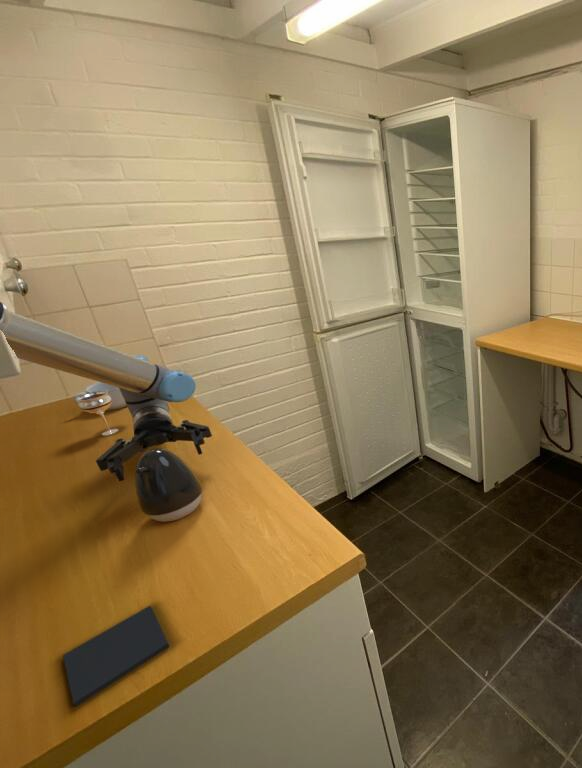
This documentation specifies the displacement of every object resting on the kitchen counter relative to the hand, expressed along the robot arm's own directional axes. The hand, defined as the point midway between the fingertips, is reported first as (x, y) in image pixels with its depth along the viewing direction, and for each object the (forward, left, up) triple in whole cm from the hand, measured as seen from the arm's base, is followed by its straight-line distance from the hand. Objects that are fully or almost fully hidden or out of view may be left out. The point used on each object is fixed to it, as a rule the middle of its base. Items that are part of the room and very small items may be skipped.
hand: (160, 461), depth 89 cm
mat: (+15, -37, -9) cm, 41 cm away
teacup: (-52, +52, -9) cm, 74 cm away
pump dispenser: (+4, -6, -9) cm, 12 cm away
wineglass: (-39, +34, -9) cm, 52 cm away
